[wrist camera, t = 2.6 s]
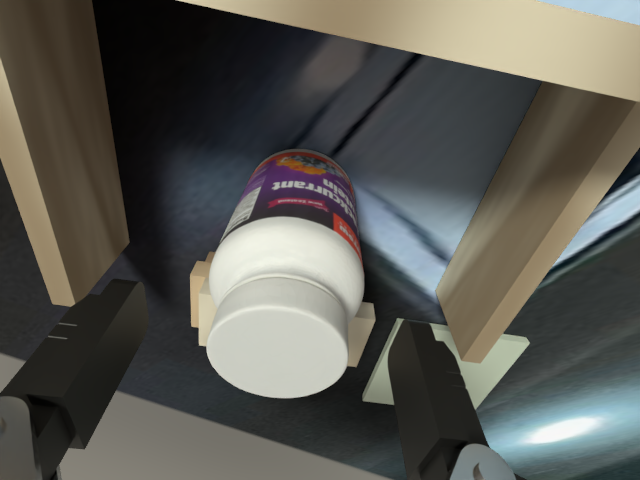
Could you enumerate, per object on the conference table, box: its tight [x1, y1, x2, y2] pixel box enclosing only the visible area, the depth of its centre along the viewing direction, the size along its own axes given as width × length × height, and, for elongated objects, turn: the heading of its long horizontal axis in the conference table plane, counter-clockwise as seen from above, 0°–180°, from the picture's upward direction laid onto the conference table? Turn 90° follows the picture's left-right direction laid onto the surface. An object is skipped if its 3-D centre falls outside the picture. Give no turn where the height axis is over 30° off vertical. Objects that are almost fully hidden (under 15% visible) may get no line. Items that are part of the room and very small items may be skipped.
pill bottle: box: [207, 149, 364, 398], centre depth 14 cm, size 5×5×10 cm
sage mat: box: [362, 318, 530, 409], centre depth 25 cm, size 9×9×1 cm
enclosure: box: [0, 0, 640, 364], centre depth 13 cm, size 20×14×8 cm
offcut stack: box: [190, 252, 375, 367], centre depth 20 cm, size 10×4×4 cm, turn 79°
